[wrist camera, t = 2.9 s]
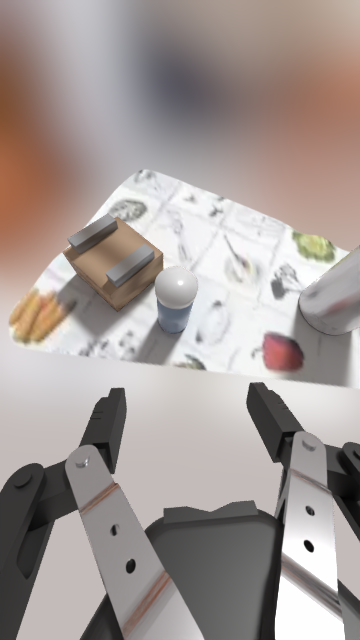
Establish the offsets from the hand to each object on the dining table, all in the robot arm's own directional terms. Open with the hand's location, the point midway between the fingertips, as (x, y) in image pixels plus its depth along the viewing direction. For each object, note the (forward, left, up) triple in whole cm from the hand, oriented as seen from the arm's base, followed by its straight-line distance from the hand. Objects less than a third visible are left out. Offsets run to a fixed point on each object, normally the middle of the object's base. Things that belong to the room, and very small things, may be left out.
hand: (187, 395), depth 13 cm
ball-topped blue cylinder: (-8, -8, -15) cm, 19 cm away
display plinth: (-8, -20, -15) cm, 26 cm away
